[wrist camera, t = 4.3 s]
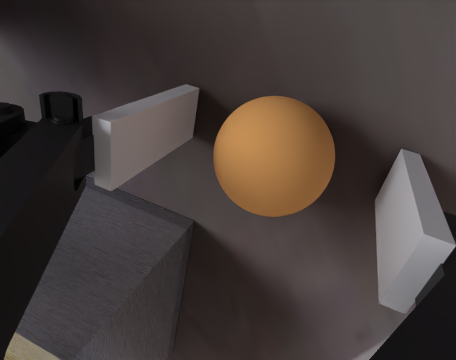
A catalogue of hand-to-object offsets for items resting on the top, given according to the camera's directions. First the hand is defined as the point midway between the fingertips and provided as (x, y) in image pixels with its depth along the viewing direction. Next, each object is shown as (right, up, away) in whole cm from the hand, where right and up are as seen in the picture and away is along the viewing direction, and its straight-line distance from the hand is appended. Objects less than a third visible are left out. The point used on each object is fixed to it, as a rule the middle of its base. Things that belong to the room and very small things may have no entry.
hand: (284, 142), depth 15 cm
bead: (0, 0, 0) cm, 0 cm away
